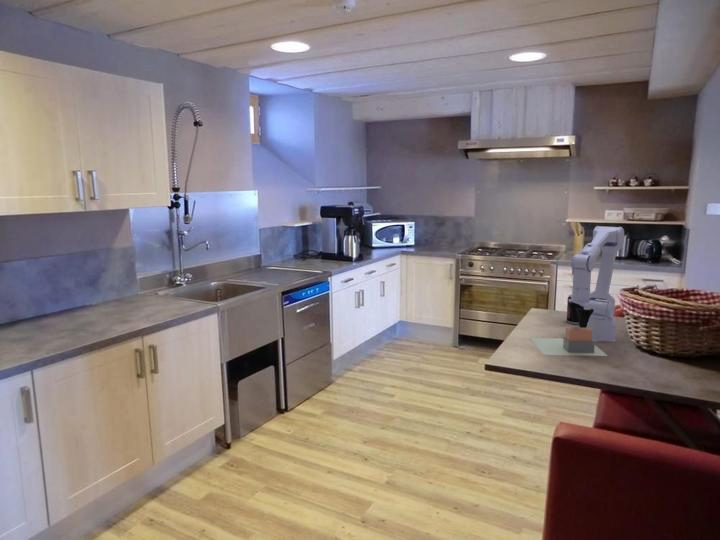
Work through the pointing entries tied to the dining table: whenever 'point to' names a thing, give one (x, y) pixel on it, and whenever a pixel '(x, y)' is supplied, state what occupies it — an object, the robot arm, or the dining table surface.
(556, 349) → the baseplate
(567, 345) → the grey base brick
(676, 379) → the dining table surface
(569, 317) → the beverage can
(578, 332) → the terracotta brick
